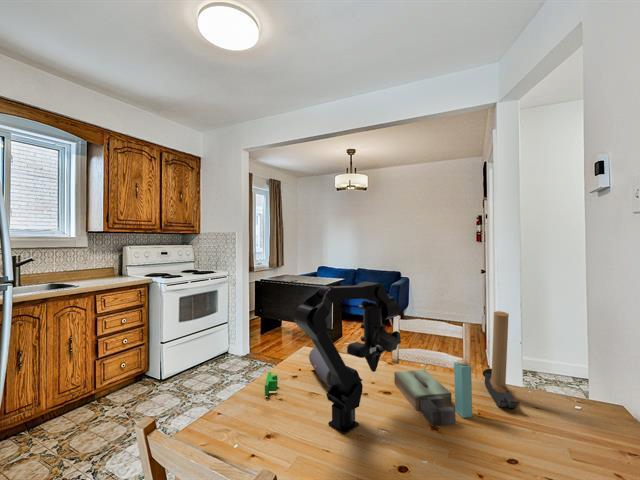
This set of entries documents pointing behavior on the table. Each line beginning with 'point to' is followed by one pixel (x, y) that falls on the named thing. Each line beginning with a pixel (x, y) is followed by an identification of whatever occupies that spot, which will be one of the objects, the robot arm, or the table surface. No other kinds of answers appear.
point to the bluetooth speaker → (320, 366)
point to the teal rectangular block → (463, 388)
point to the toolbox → (427, 396)
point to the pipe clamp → (270, 383)
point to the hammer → (499, 363)
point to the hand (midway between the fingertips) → (373, 371)
